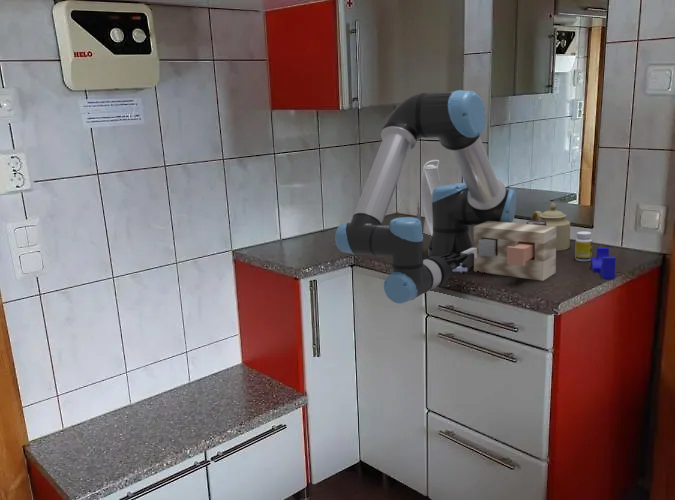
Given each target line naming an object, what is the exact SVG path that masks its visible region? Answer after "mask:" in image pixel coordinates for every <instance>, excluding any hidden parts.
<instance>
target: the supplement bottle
mask: <svg viewBox="0 0 675 500" xmlns="http://www.w3.org/2000/svg"><path fill="white" fill-rule="evenodd" d="M576 237H577V238H576V239H575V246H574V247H575V250H574V251H575V252H574V259H575V260H576V261H577V262H591V258H593V240H592V232H590V231H577V232H576Z"/></svg>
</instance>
